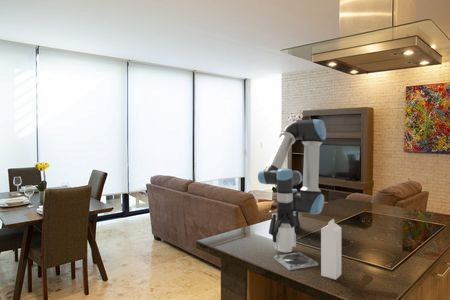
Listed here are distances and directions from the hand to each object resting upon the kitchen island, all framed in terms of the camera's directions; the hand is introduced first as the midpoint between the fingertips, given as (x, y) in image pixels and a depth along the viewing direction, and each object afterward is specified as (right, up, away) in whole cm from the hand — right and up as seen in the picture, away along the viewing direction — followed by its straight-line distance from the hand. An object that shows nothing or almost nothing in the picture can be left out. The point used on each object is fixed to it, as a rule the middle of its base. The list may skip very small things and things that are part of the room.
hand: (285, 247), depth 156 cm
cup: (0, -2, 0) cm, 2 cm away
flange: (+2, -2, -14) cm, 14 cm away
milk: (+13, -3, -28) cm, 31 cm away
